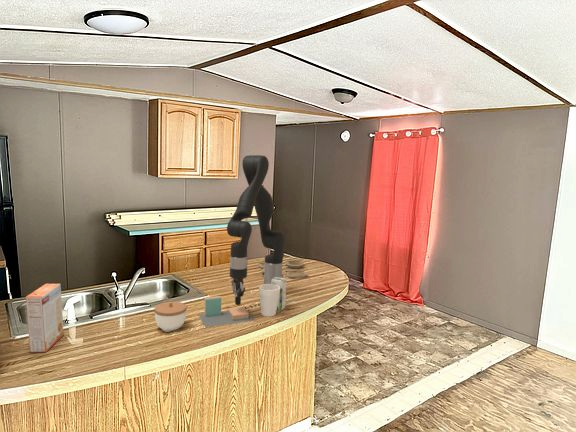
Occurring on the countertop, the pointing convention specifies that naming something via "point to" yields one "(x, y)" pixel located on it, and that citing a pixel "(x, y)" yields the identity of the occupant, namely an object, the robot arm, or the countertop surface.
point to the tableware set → (292, 264)
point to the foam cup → (269, 299)
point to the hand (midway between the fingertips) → (237, 304)
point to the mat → (221, 319)
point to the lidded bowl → (170, 315)
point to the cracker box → (44, 317)
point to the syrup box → (282, 295)
